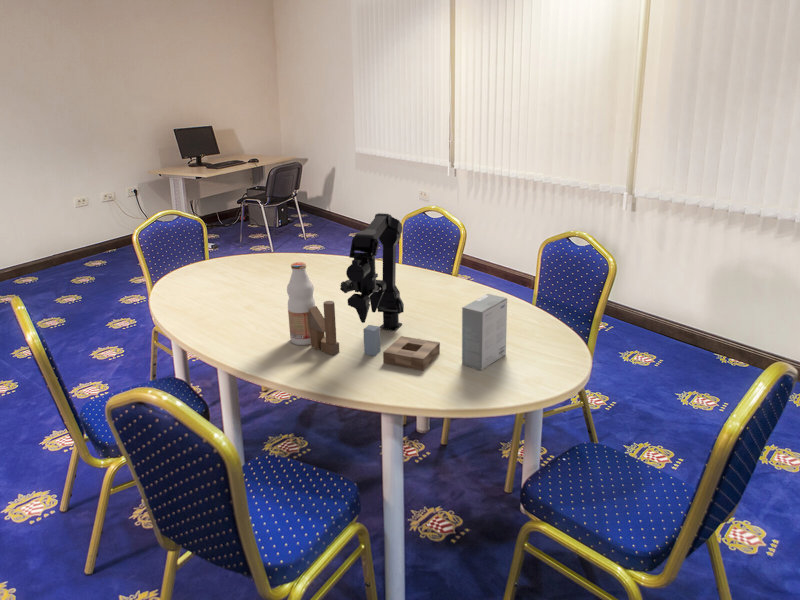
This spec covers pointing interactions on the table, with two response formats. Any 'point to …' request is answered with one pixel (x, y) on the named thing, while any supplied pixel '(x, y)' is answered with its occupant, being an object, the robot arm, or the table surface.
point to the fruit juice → (300, 304)
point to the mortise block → (411, 353)
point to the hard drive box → (484, 331)
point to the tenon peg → (371, 340)
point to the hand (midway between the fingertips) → (368, 317)
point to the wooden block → (323, 328)
